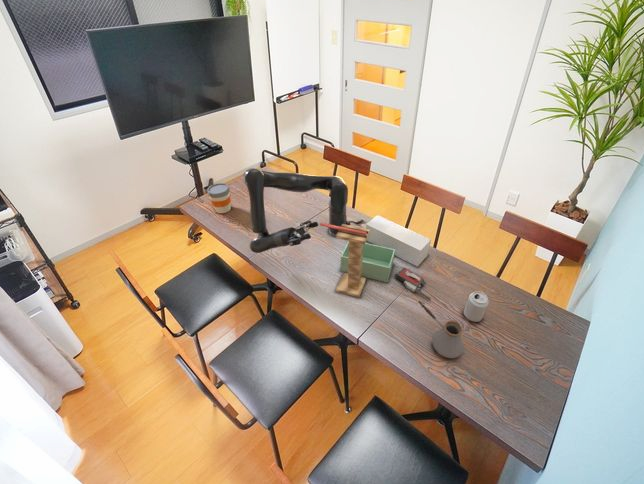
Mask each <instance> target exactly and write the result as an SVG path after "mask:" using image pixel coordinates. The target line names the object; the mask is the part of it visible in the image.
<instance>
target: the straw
mask: <svg viewBox="0 0 644 484" xmlns="http://www.w3.org/2000/svg"><path fill="white" fill-rule="evenodd" d="M319 226H320V227H325V228H328V229H329V228H334V229H340V230H344V231H349V232H354V233H359V234H363V235H366V232H363V231H358V230H354V229H349V228H344V227H339V226H335V225H330V224H329V223H324V222H319Z"/></svg>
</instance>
